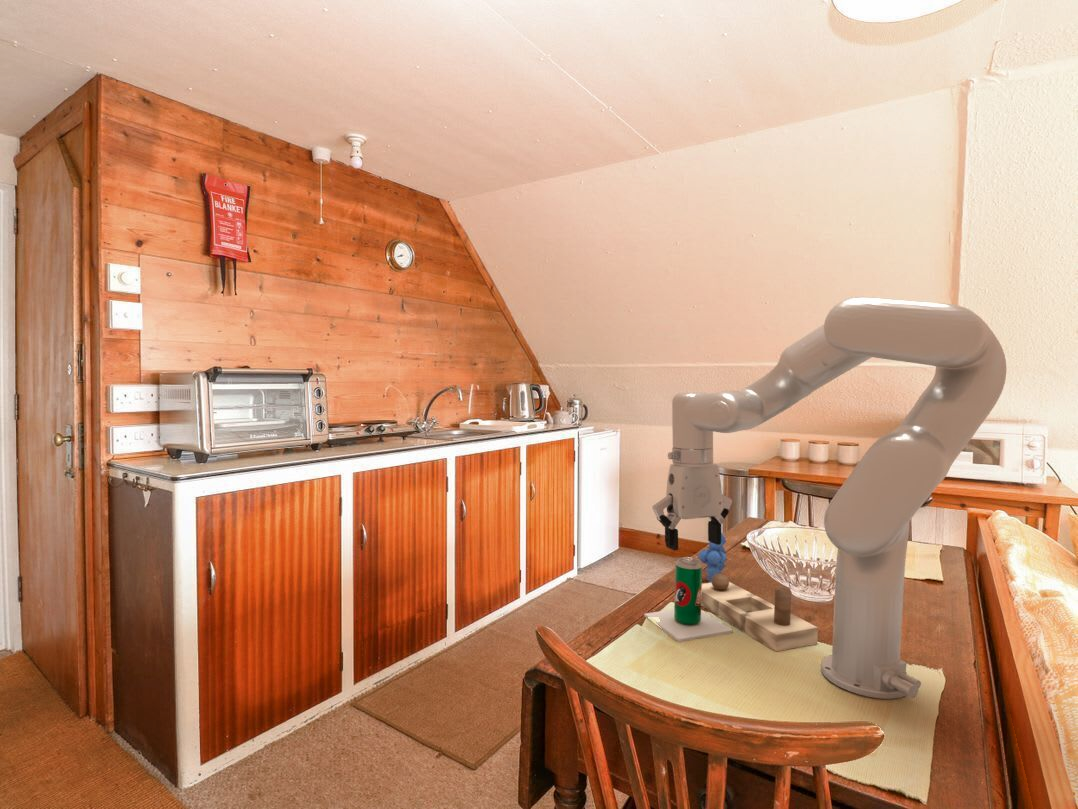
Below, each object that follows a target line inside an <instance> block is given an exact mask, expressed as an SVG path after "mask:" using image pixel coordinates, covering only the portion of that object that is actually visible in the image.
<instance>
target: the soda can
mask: <svg viewBox="0 0 1078 809" xmlns="http://www.w3.org/2000/svg"><path fill="white" fill-rule="evenodd" d="M676 561H677V562H676V563H675V567H674V569H675V571H674V606H673V607H674V618H675V619H676V621H677V622H679V623H681V624H684V625H696V624H698V623H699V622H700V621H701V610H702V606H701V597H702V584H703V566H702V564H701V560H700V559H699V558H696V557H691V556H682V557H678V558H677V560H676Z"/></svg>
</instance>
